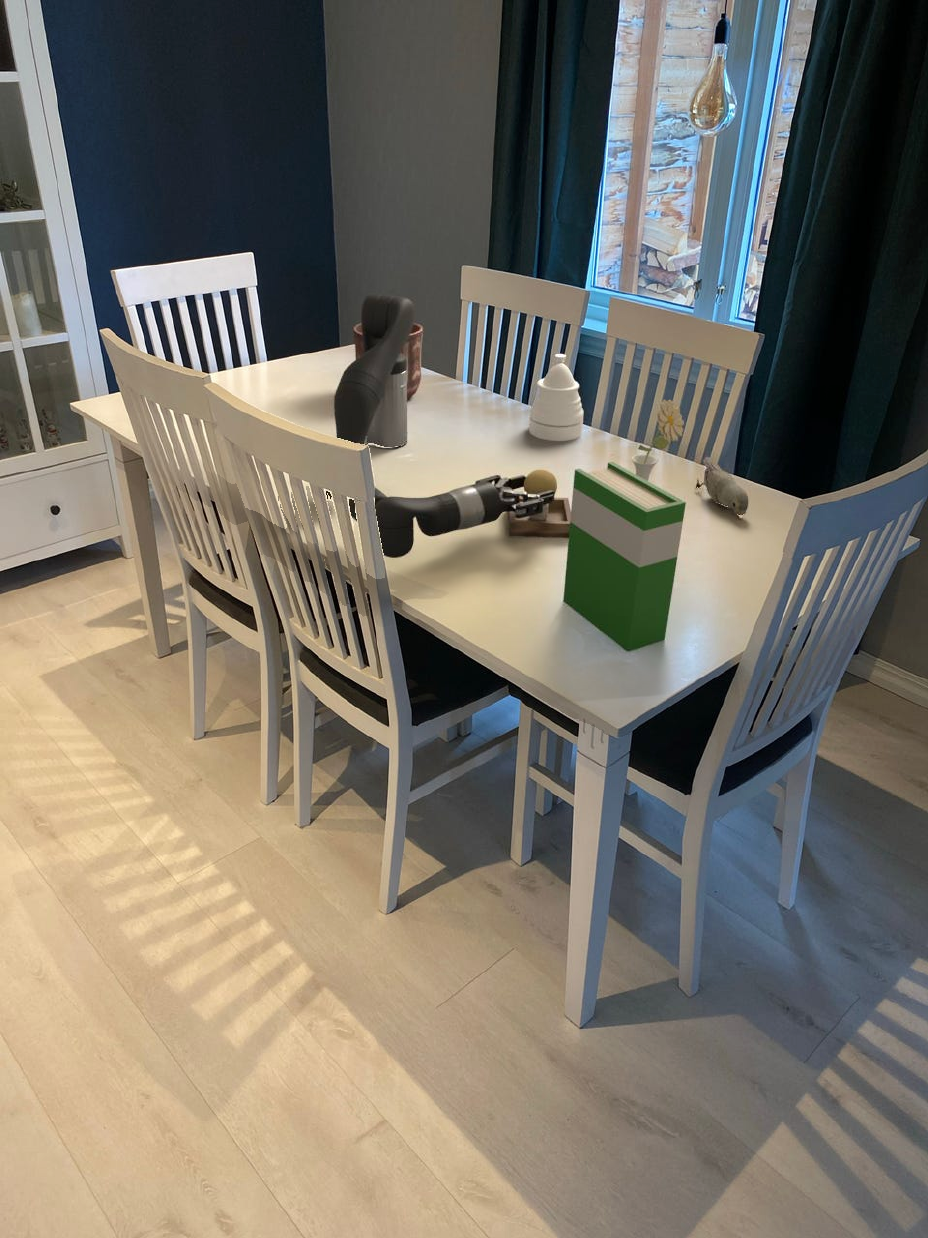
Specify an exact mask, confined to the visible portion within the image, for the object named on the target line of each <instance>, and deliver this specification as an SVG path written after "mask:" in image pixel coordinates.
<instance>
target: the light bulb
mask: <svg viewBox="0 0 928 1238" xmlns="http://www.w3.org/2000/svg"><path fill="white" fill-rule="evenodd" d="M525 477H526V479H525V481H524V487H523V490H524V492H527V493H528V494H536V495H537V494H539V493H542V492H546V491H550V490H552V491H553V492H554V493H555V494H557V493H556V492H557V489H558V483H557V479H556V477H555V475H554V474H553V473H552V472H550V471H548V470H545V469H536V470H535V469H534V470H533V471H531V472H530V473H528V475H526V476H525ZM529 500H530V501H531V500H533V499H529ZM548 507H549V505H548V504H545V505H543V513H540V514H536V515H532V516H529V517H530V518H531V519H532V520H535V521H543V520H545V519H546V518H547V517H548ZM533 510H534V509H533Z"/></svg>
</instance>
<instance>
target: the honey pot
mask: <svg viewBox="0 0 928 1238" xmlns="http://www.w3.org/2000/svg"><path fill="white" fill-rule="evenodd" d="M566 358H567V355H566V354H563V353H556V354H555V355H554V359H555V361H556V364H554V365H553V366H552V367H551V368H550V369H549V371H548V372H547V374H545V375H546V376H545V377H544V378H541V379H539V380H538V381H537V383H536V386H537V389H538V392H537V393H536V394H535V399H534V401H533V404H532V406H531V408H530V411H529V413H530V414H529V420H528V421H529V423H528V432H529V434H530V435H532V436H534V437H535V438H537V439H541V440H545V441H550V442H551V441H552V442H567V441H573V440H576V439H578V438H580V437H581V436H582V434H583V425H584V424H583V423H584V412H585V411H584V409H583V408H582V406H583V404H582V402H581V399H582V398H581V397H580V395H579V392H578V391H579V388H580V384H579V383H578V381H576V380H575V379H574V375H573V374H572V372H571V370H570V369H569V367H568V366H567V365H566V364H564V362H565V361H566Z"/></svg>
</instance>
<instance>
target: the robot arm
mask: <svg viewBox="0 0 928 1238" xmlns="http://www.w3.org/2000/svg"><path fill="white" fill-rule="evenodd" d="M360 311H361V312H360V313H361V314H360V322H361V326H362V337H363V351H364V354H363V355H362V356H360V357H359V358H357V359H356V358H355V360H354V361H352V362H351V363H350V364H349V365H348V366H347V368H345V370H344V372H343V373H342V376H341V378H340V381H339V383H338V385H337V388H336V389H335V393H334V399H333V409H334V410H333V411H334V420H335V421H334V422H335V429H336V437H337V438H341V439H344V440H348V441H351V442H354V443H360V444H364V445H365V443H366V445H367V444H368V443H374V444H377V445H380V446H384V447H395V446H401V445H403V444H405V443H406V444H407V443H408V400H407V360H406V357H405V356H404V355H403V354H402V353H401V351H402V349H403V347H404V345H405V343H406V341H407V339H408V337H409V335H410V333H411V330H412V327H413V323H415V318H416V317H415V316H416V315H415V314H416V311H415V306H414V303H413V301H411V300H410V299H409V298H407V297H404V296H403V297H402V296H397V295H387V294H378V293H377V294H376V293H370V294H368V295H366V296H365V298H364V300H363V303H362V305H361V310H360ZM406 444H405V445H406ZM369 446H370V445H369ZM370 447H371V446H370ZM401 447H402V446H401ZM526 477H527V476H525V475H523V474H522V475H517V476H514V477H510V478H509V477H503V478H502V477H501V475H500V474H495V475H491V476H488V477H484V478H481V479H477V480H476V481H475V482H474V483H473V484H469V485H466V486H461V487H458V488H455V489H452V490H449V491H446V492H444V493H440V494H435V495H432V496H429V497H428V496H427V497H404V496H387V495H386V494H384V493H383V492H382V491H381V490H379V489H378V488H377V487H376V486H374V487H375V509H376V516H377V521H378V527H379V532H380V538H381V543H382V549H383V553H384V555H383V556H384V557H387V558H392V559H398V558H402V557H404V556H406V555H407V554H409V553H410V551H412V549H413V547H414V542H415V536H414V535H415V534H414V533H415V532H414V518H415V520H416V524H417V525H418V528H419V530H420V531H421V532H422V534H424V535H425V536H427V537H437V536H440V535H444V534H448V533H451V532H456V531H461V530H462V531H463V530H467V529H471V528H474V527H478V526H482V525H485V524H489V523H492V522H495V521H497V520H498V519H499V518H500V517H501V515H502V514H503V513H508V512H511V511H513V512H514V513H515V518H523V517H528V516H532V515H536V514H540V513H543V505H545V504H548V503H552V502H553V501H554V498H555V495H556V493H554V492H553V491H552V490H550V491H546V492H542V493H539V494H537V495H536V494H528V493H527V492H525V491H521V490H519V491H517V490H518V489H521V488H524V481H525V479H526ZM493 483H494V484H493ZM516 489H517V490H516ZM327 493H328V495H329V496H330V499H331V497H332V496H331V494H330V492H328V491H326V495H327ZM328 495H327V499H328ZM520 497H523V503H522V502H520V503H519V499H520ZM528 499H533V500H531V501H527V500H528ZM349 506H350V512H351V516H352V517H351V516H350V517H351V518H352V519H353V520H354V521H356V522H357V519H356V513H355V503H354V500H352V499H349ZM533 509H534V510H533Z"/></svg>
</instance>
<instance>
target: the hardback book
mask: <svg viewBox="0 0 928 1238" xmlns="http://www.w3.org/2000/svg"><path fill="white" fill-rule="evenodd" d="M571 497H572V499H571V507H570V509H571V519H570V530H569V538H568V543H567V544H568V545H567V555H566V567H565V575H564V577H565V578H564V589H563V599H562V600H563V601H562V602H563V603H564V604H566V605H567V606H568V607H570V608H571V609H572V610H573V611H575V612H576V613H577V614H578V615H580V616H581V617H582V618H584V619H585V620H586V621H587V622H588V623H590V624H591V625H592V626H593V627H596V629H597V630H599V631H600V632H601V633H603V634H604V635H606V636H607V638H609V639H610V640H612V641H613V642H614V643H616V644H617V646H620V647H621V648H622V649H623V650H625V651H626V652H627V653H629V652H632V651H635V650H638V649H641V648H644V647H646V646H647V647H648V646H650V645H654V644H657V643H660V642H663V641H665V639H666V632H667V626H668V620H669V614H670V607H671V601H672V595H673V590H674V589H673V588H674V582H675V581H674V580H675V575H676V568H677V561H678V556H679V551H680V549H679V548H680V542H681V538H682V537H681V536H682V531H683V530H682V529H683V525H684V524H683V523H684V516H685V511H686V506H687V505H686V504H687V502H686V501H684V500H683V499H680V498H678V497H677V496H675V495H673V494H671V493H670V492H668V491H666V490H665V489H663V488H660V487H659V486H657V485H655V484H653V483H652V482H650V481H649V480H648V481H646V480H645V479H643V478H641V477H639V476H637V475H636V473H634V472H632V471H630V470H628V469H627V468H625V467H623V466H621V465H619V464H618V463H616V462H614V461H609V462H607V468H604V469H598V470H594V471H590V472H586V471H584V470H583V469H581V468H577V469H574V475H573V486H572V496H571Z"/></svg>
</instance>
